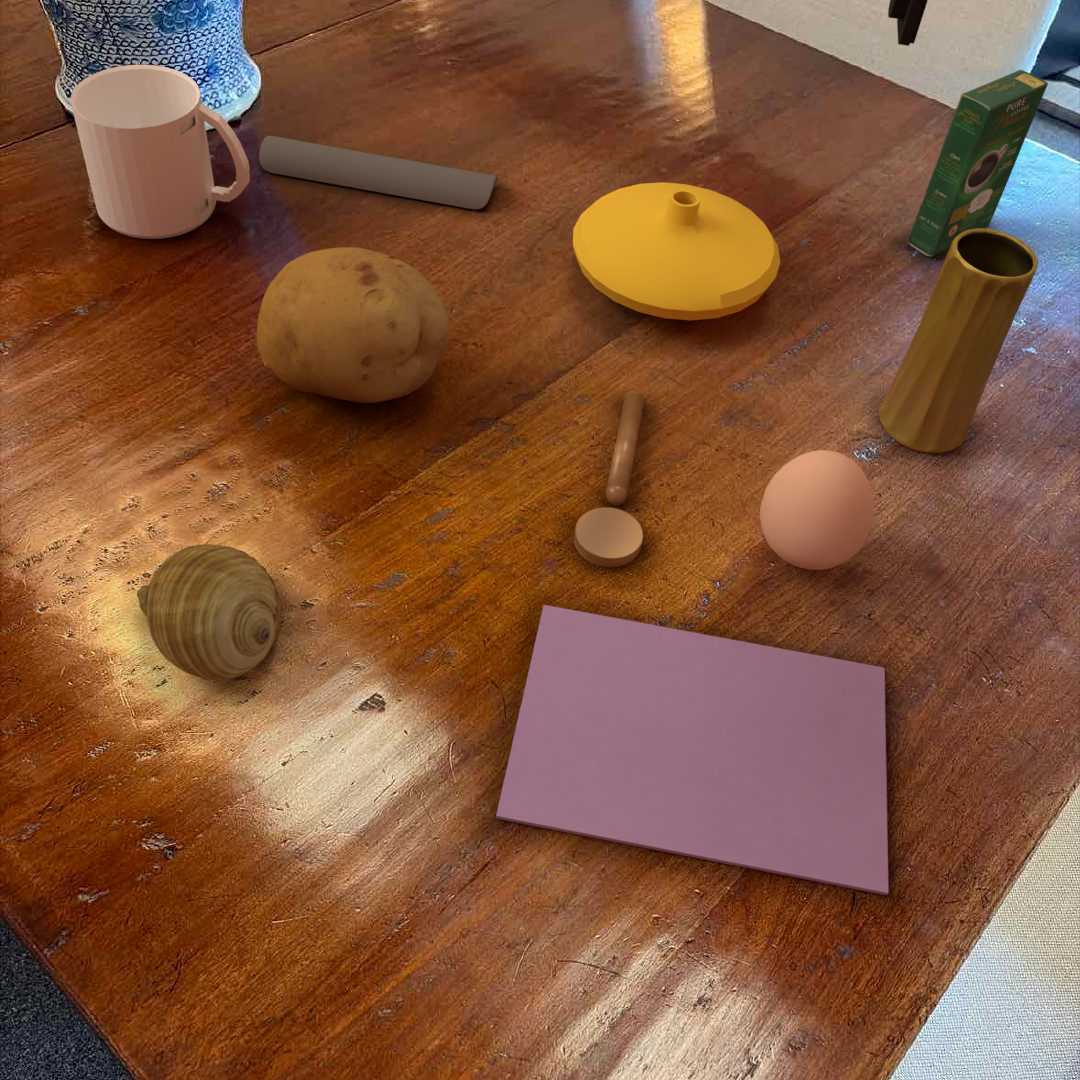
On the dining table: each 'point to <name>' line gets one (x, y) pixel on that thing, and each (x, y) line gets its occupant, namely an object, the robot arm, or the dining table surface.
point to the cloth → (703, 749)
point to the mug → (151, 150)
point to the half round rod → (376, 172)
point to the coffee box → (976, 160)
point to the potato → (352, 325)
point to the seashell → (212, 611)
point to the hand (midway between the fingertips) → (1000, 47)
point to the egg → (817, 510)
